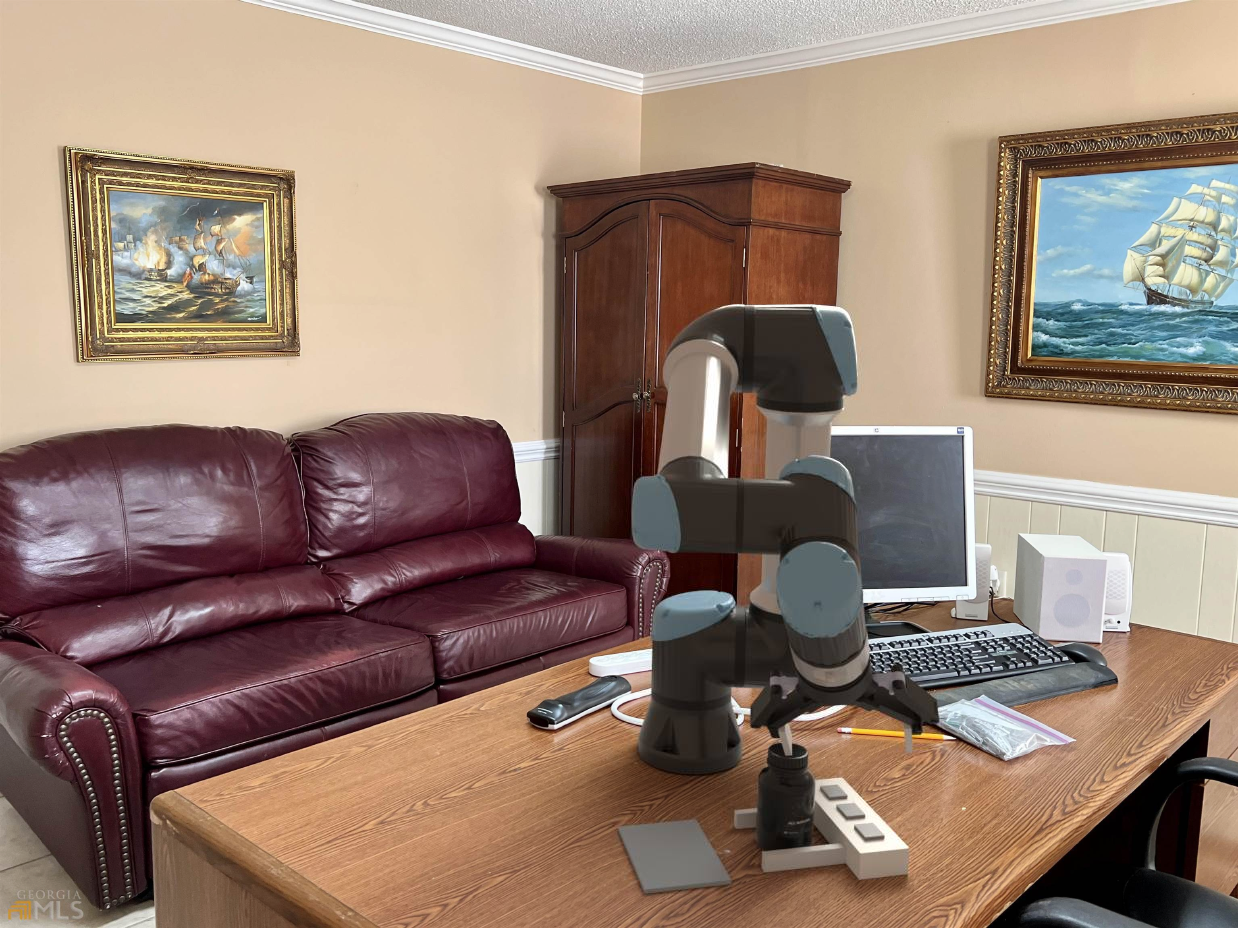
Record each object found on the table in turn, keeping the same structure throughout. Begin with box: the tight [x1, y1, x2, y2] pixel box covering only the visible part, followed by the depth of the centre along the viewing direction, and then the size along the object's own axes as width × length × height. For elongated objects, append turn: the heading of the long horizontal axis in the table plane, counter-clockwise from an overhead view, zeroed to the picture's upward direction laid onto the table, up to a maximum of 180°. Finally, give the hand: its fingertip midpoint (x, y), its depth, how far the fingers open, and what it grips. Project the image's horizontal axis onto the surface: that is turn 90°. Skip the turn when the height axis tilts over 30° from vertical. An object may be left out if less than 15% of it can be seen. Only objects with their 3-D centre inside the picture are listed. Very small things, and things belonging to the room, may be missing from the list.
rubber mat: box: [617, 818, 732, 895], centre depth 118 cm, size 14×10×1 cm
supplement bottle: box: [755, 742, 816, 852], centre depth 120 cm, size 7×7×12 cm
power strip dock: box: [733, 777, 910, 881], centre depth 121 cm, size 18×16×4 cm
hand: (847, 743), depth 116 cm, fingers open, 13 cm apart
